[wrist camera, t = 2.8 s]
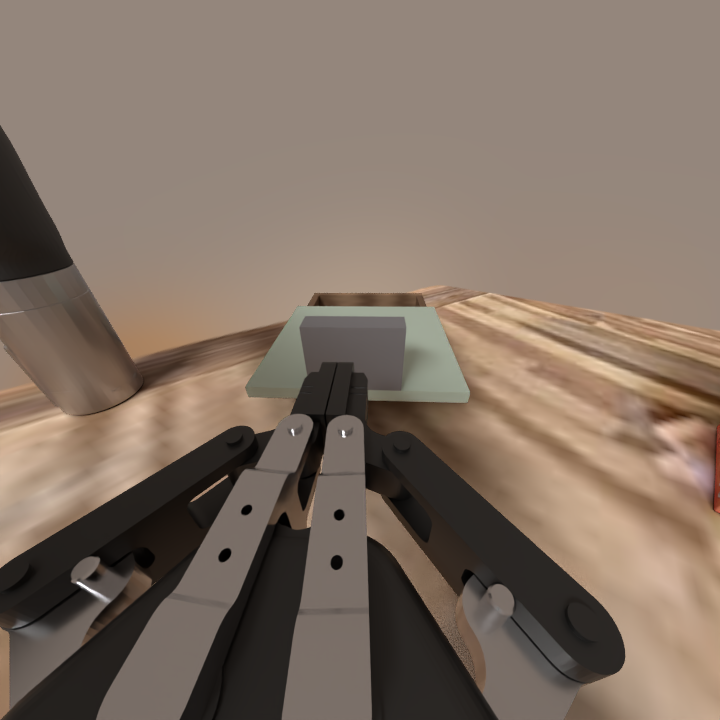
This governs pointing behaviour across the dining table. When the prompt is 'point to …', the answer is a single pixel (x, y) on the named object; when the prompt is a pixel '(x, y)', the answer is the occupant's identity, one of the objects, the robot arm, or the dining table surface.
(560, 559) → the dining table surface
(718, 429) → the cracker box
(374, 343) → the lid
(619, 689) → the dining table surface
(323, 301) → the chest
